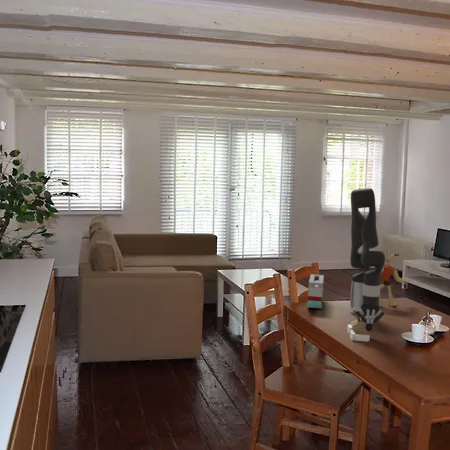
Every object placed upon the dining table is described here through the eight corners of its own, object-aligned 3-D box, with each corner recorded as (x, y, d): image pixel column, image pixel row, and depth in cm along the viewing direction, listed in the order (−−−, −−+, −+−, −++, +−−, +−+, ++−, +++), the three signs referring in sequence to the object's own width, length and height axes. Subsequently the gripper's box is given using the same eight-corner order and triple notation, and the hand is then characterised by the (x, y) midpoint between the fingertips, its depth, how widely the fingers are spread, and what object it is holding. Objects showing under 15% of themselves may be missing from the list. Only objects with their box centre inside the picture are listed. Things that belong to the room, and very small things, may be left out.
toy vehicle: (323, 297, 320) (324, 272, 319) (321, 310, 291) (323, 283, 289) (309, 296, 322) (310, 271, 320) (306, 309, 292) (308, 282, 291)
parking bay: (347, 330, 257) (347, 323, 257) (364, 331, 257) (364, 324, 256) (351, 340, 243) (352, 333, 242) (369, 341, 242) (369, 334, 242)
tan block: (356, 333, 253) (345, 311, 253) (366, 329, 252) (355, 306, 252) (357, 337, 247) (345, 314, 247) (367, 333, 245) (355, 310, 245)
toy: (403, 302, 316) (407, 251, 312) (410, 306, 307) (414, 254, 304) (366, 302, 312) (369, 251, 308) (372, 306, 303) (376, 254, 300)
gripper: (384, 292, 250) (382, 329, 252) (355, 291, 251) (353, 327, 253) (387, 296, 243) (385, 334, 244) (357, 295, 244) (355, 332, 246)
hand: (368, 330), depth 249 cm, fingers closed
